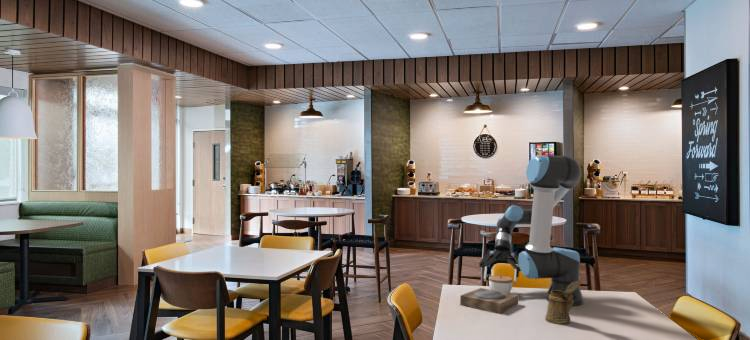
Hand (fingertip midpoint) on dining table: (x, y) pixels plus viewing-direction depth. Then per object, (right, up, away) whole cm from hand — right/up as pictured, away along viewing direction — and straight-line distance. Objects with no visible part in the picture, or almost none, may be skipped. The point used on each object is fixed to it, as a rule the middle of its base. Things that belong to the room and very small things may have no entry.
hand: (499, 281), depth 235 cm
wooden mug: (+14, -7, -40) cm, 43 cm away
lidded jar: (0, -6, 0) cm, 6 cm away
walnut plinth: (-9, -6, -17) cm, 21 cm away
